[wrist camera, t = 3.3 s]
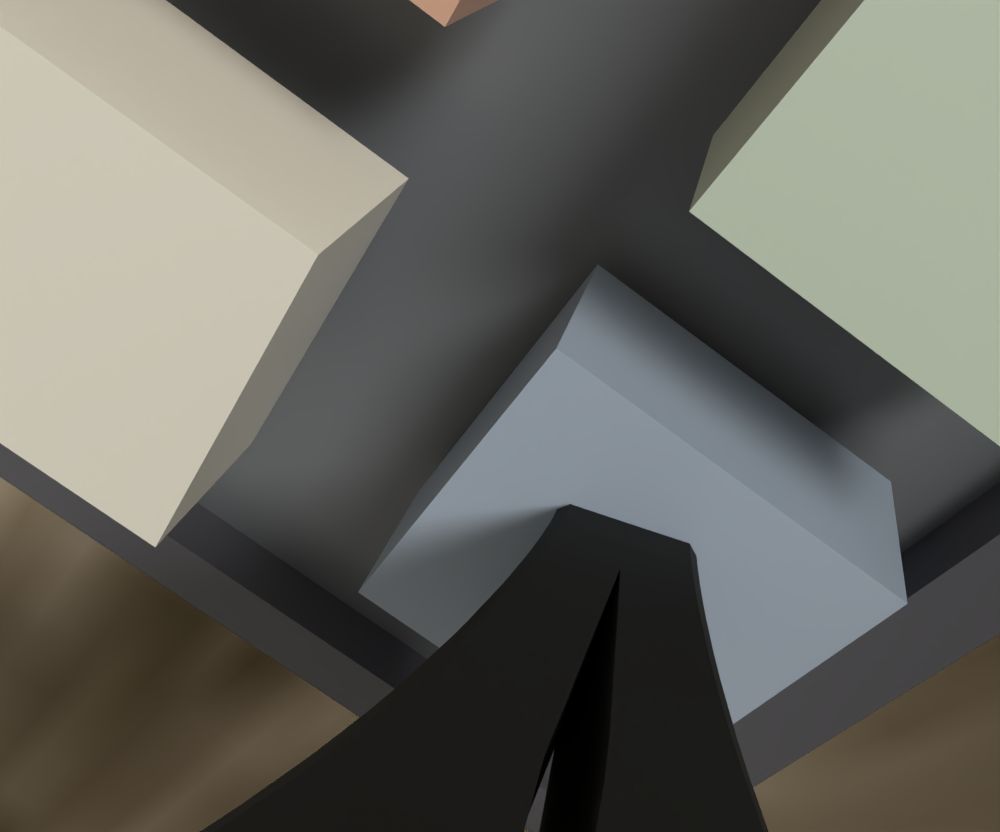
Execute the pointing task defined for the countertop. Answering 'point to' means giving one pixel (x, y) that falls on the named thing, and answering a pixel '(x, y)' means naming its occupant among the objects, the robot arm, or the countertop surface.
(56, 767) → the countertop surface
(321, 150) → the key cream
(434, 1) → the key terracotta
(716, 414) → the key slate
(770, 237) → the key sage
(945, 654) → the dark grey tray
